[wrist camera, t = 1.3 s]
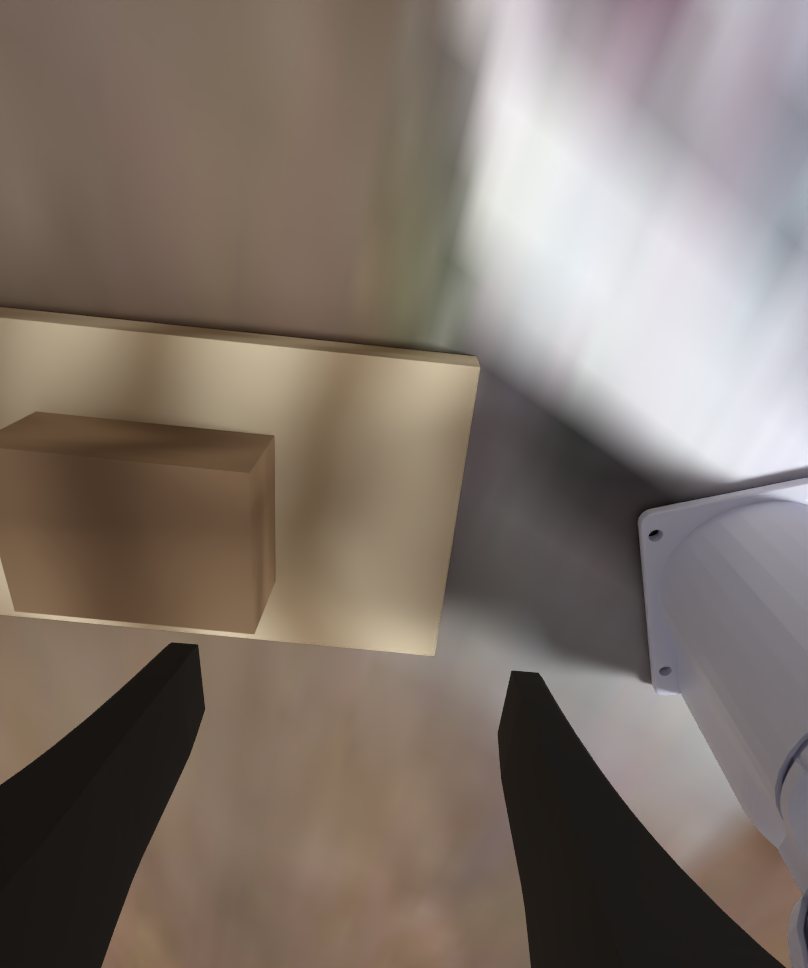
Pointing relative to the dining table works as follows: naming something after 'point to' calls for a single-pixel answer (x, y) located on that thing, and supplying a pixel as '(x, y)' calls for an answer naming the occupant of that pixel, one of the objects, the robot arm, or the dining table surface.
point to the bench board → (285, 455)
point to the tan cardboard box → (137, 521)
